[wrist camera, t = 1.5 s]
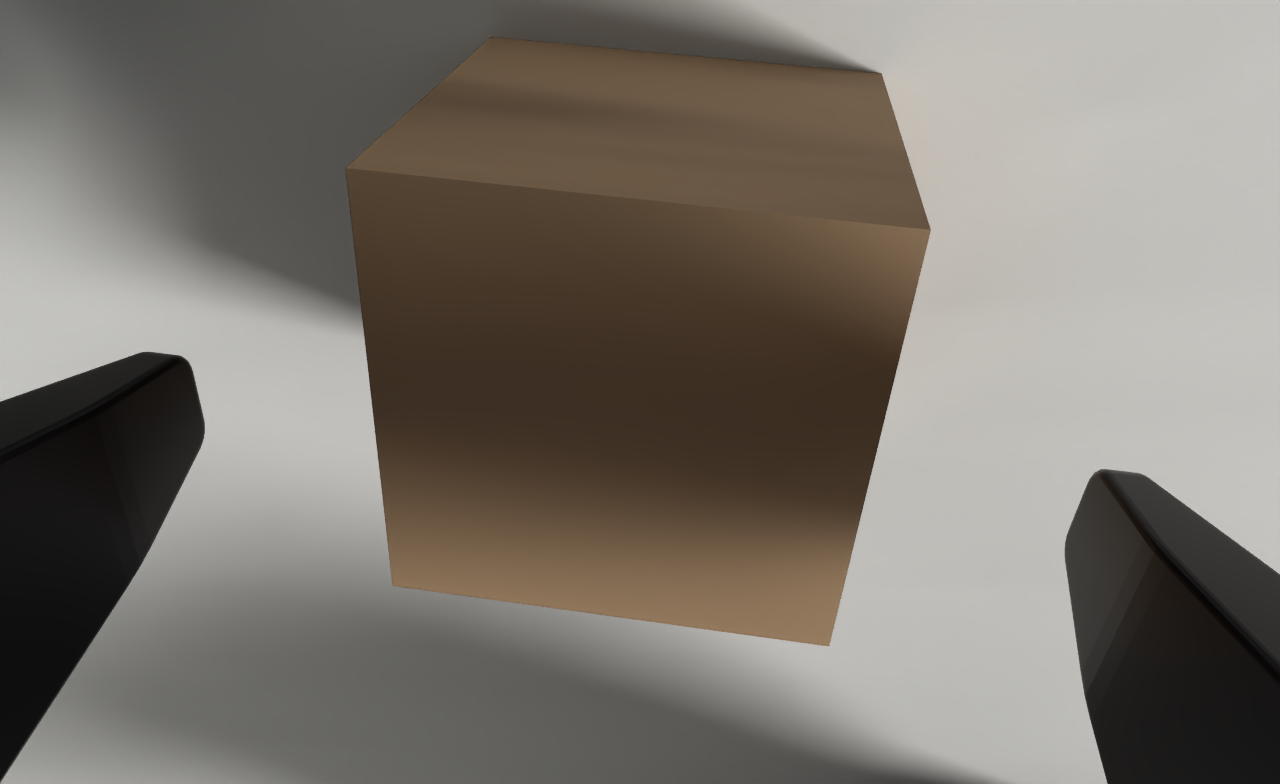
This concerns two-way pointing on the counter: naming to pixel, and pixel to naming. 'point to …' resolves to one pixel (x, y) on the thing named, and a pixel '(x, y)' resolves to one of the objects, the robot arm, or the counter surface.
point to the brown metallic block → (635, 330)
